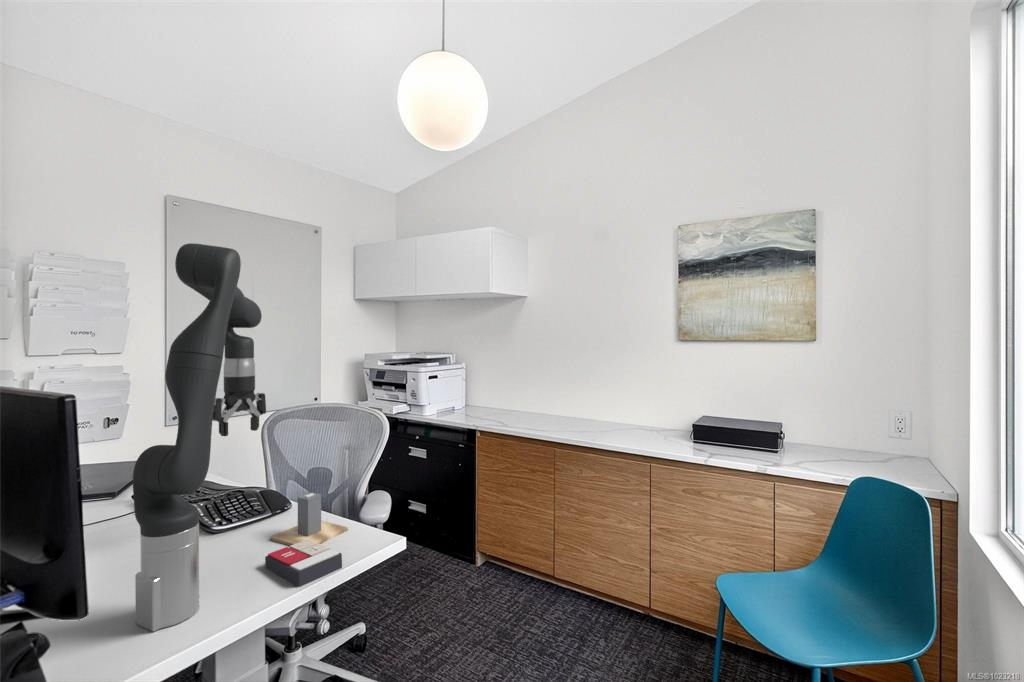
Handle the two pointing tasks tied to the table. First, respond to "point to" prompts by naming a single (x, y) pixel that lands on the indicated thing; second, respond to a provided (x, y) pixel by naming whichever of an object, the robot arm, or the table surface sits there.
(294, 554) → the red-tabbed grey slab
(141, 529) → the robot arm
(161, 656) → the table surface
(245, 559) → the table surface
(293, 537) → the cork coaster
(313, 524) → the block
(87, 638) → the table surface
